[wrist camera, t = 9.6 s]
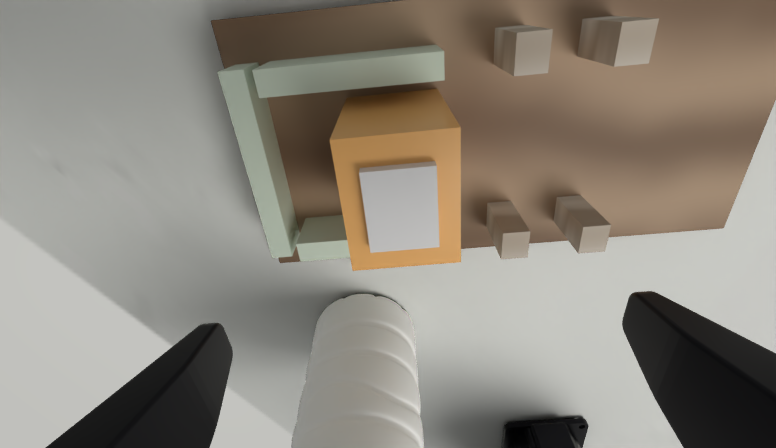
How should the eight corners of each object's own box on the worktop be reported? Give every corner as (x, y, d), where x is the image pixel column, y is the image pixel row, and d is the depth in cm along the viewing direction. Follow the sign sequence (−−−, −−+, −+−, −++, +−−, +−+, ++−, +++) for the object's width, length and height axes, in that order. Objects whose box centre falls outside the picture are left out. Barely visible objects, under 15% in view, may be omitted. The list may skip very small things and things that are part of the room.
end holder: (440, 223, 20) (447, 249, 18) (281, 236, 20) (269, 264, 18) (436, 44, 16) (444, 51, 14) (235, 64, 16) (211, 74, 14)
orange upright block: (440, 192, 19) (462, 268, 14) (361, 199, 19) (351, 277, 14) (437, 88, 17) (462, 131, 11) (346, 97, 17) (327, 144, 11)
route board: (707, 217, 21) (772, 261, 18) (284, 250, 22) (265, 299, 19) (804, -42, 15) (933, -56, 12) (221, 19, 16) (175, 24, 13)
